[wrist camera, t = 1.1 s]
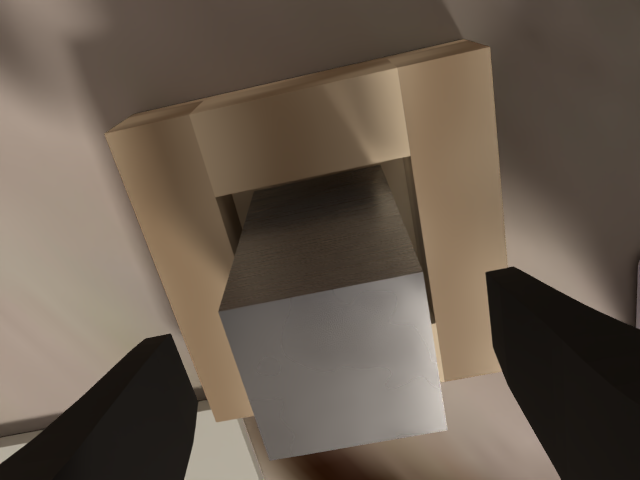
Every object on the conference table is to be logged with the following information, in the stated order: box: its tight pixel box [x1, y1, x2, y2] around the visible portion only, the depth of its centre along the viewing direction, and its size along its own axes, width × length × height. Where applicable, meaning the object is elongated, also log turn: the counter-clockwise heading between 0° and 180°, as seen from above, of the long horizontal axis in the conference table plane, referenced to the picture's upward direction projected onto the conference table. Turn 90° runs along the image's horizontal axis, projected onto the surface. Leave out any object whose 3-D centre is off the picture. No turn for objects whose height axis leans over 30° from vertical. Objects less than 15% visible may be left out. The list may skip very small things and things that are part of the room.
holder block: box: [104, 39, 508, 422], centre depth 17 cm, size 10×10×2 cm
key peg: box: [218, 165, 447, 461], centre depth 14 cm, size 4×4×7 cm
